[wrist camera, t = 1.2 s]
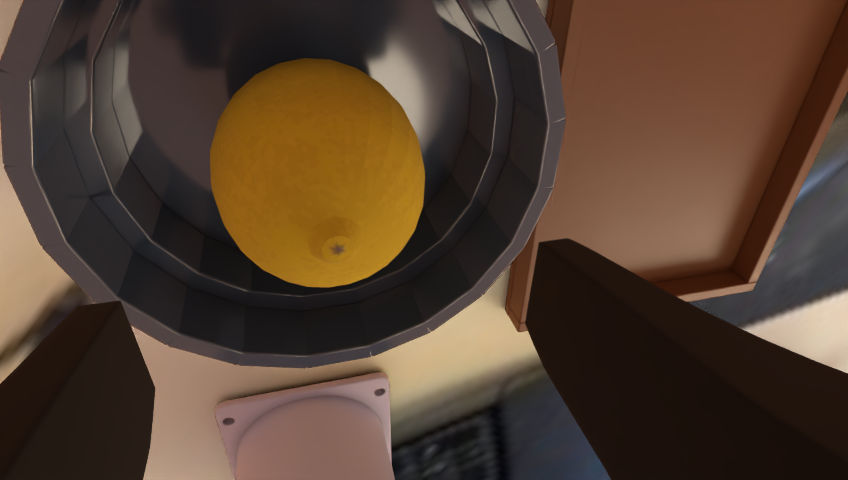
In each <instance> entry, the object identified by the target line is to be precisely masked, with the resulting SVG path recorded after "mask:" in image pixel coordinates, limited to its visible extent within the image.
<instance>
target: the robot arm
mask: <svg viewBox="0 0 848 480" xmlns="http://www.w3.org/2000/svg"><path fill="white" fill-rule="evenodd" d="M525 325H526V327H527V329H528V332H529V334H530V337H531V339H532V341H533V344H534V346H535V349H536V351H537V353H538V355H539V357H540V360H541V362H542V364H543V366H544V368H545V370H546V372H547V373H548V375H549V377H550V379H551V380H552V382H553V384H554V385H555V387H556V389H557V390H558V392H559V394H560V395H561V397H562V399H563V400H564V402H565V404H566V405H567V407H568V409H569V410H570V412H571V414H572V415H573V417H574V418H575V420H576V422H577V423H578V425H579V427H580V428H581V430H582V432H583V433H584V435H585V437H586V438H587V440H588V441H589V443H590V445H591V446H592V448H593V450H594V451H595V453H596V455H597V456H598V458H599V459H600V461H601V463H602V464H603V466H604V468H605V469H606V471H607V473H608V475H609V476H610V478H611V480H848V373H845V372H842V371H840V370H837V369H834V368H832V367H829V366H827V365H824V364H821V363H819V362H816V361H814V360H811V359H809V358H807V357H804V356H802V355H799V354H797V353H795V352H792V351H790V350H788V349H785V348H783V347H780V346H778V345H776V344H773V343H771V342H769V341H766V340H764V339H762V338H759V337H757V336H755V335H753V334H751V333H748V332H746V331H744V330H742V329H740V328H738V327H736V326H734V325H732V324H730V323H728V322H726V321H724V320H722V319H719V318H717V317H715V316H713V315H711V314H709V313H707V312H705V311H703V310H701V309H699V308H697V307H695V306H694V305H692V304H690V303H688V302H686V301H684V300H682V299H680V298H678V297H676V296H675V295H673V294H671V293H669V292H667V291H665V290H663V289H662V288H660V287H658V286H656V285H654V284H652V283H651V282H649V281H647V280H645V279H643V278H642V277H640V276H638V275H636V274H635V273H633V272H631V271H629V270H627V269H626V268H624V267H622V266H620V265H618V264H617V263H615V262H613V261H611V260H610V259H608V258H606V257H604V256H602V255H600V254H599V253H597V252H595V251H593V250H591V249H589V248H588V247H586V246H584V245H582V244H580V243H578V242H576V241H573V240H571V239H569V238H565V239H557V240H550V241H543V242H539V243H538V249H537V255H536V261H535V267H534V273H533V279H532V284H531V290H530V296H529V302H528V308H527V314H526V319H525ZM379 388H381V389H379ZM377 389H378V390H377ZM154 397H155V386H154V384H153V381H152V379H151V376H150V374H149V371H148V369H147V366H146V364H145V361H144V359H143V356H142V353H141V351H140V348H139V346H138V343H137V341H136V338H135V336H134V333H133V331H132V328H131V326H130V323H129V321H128V318H127V315H126V313H125V310H124V308H123V305H122V303H121V300H119V301H112V302H105V303H98V304H91V305H83V306H78V307H76V308H75V309H74V310H73V311H72V312H71V313H70V314H69V315H68V316H67V317H66V318H65V319H64V320H63V321H62V322H61V323H60V324H59V325H58V326H57V327H56V328H55V329H54V330H53V331H52V332H51V333H50V334H49V335H48V336H47V337H46V338H45V339H44V340H43V341H42V342H41V343H40V344H39V345H38V346H37V347H36V348H35V349H34V350H33V352H32V353H31V354H30V355H29V356H28V357H27V358H26V359H25V360H24V361H23V362H22V363H21V364H20V365H19V366H18V367H17V368H16V369H15V370H14V371H13V372H12V373H11V374H10V375H9V376H8V377H7V378H6V379H5V380H4V381H3V382H2V383H1V384H0V480H143V477H144V473H145V468H146V464H147V459H148V454H149V449H150V442H151V433H152V423H153V411H154ZM215 417H216V420H217V424H218V427H219V430H220V433H221V436H222V440H223V443H224V446H225V449H226V452H227V455H228V459H229V462H230V465H231V468H232V471H233V475H234V478H235V480H395V478H394V474H393V470H392V465H391V427H390V386H389V379H388V376H387V375H386V374H385V373H382V372H378V373H372V374H367V375H362V376H356V377H351V378H346V379H340V380H335V381H329V382H324V383H319V384H313V385H308V386H303V387H297V388H292V389H287V390H281V391H276V392H270V393H265V394H260V395H254V396H249V397H244V398H238V399H233V400H227V401H223V402H221V403H219V404H218V405H217V406H216V408H215Z"/></svg>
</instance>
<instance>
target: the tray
mask: <svg viewBox="0 0 848 480" xmlns="http://www.w3.org/2000/svg"><path fill="white" fill-rule="evenodd" d="M546 23H547V25H548V27H549V29H550V31H551V33H552V35H553V37H554V39H555V43H556V45H557V52H558V60H559V68H560V75H561V83H562V90H563V98H564V106H565V113H566V118H565V120H566V123H565V129H564V134H563V140H562V146H561V151H560V157H559V162H558V168H557V174H556V179H555V185H554V187H553V191H552V193H551V195H550V197H549V199H548V201H547V203H546V205H545V207H544V209H543V211H542V214H541V216H540V218H539V220H538V222H537V224H536V226H535V228H534V230H533V232H532V234H531V236H530V238H529V240H528V242H527V244H526V246H525V247H524V249H523V250H522V251H521V252H520V253H519V255H518V256H517V257H516V258H515V259H514V260H513V261H512V266H511V274H510V281H509V288H508V295H507V302H506V309H505V311H506V313H507V314H508V315H509V317H510V319H511V321H512V322H513V324H514V326H515V328H516V329H517V331H518V332H523V331H528V329H527V327H526V325H525V319H526V314H527V308H528V302H529V296H530V290H531V284H532V279H533V273H534V267H535V261H536V255H537V249H538V243H539V242H543V241H550V240H557V239H565V238H569V239H571V240H573V241H576V242H578V243H580V244H582V245H584V246H586V247H588V248H589V249H591V250H593V251H595V252H597V253H599V254H600V255H602V256H604V257H606V258H608V259H610V260H611V261H613V262H615V263H617V264H618V265H620V266H622V267H624V268H626V269H627V270H629V271H631V272H633V273H635V274H636V275H638V276H640V277H642V278H643V279H645V280H647V281H649V282H651V283H652V284H654V285H656V286H658V287H660V288H662V289H663V290H665V291H667V292H669V293H671V294H673V295H675V296H676V297H678V298H680V299H682V300H684V301H686V302H690V301H696V300H701V299H707V298H713V297H718V296H724V295H729V294H735V293H740V292H746V291H751V290H753V288H754V286H755V284H756V281H757V280H758V278H759V276H760V274H761V272H762V269H763V267H764V265H765V263H766V261H767V259H768V257H769V255H770V253H771V251H772V248H773V246H774V244H775V242H776V240H777V238H778V236H779V234H780V232H781V229H782V227H783V225H784V223H785V221H786V219H787V217H788V215H789V213H790V211H791V208H792V206H793V204H794V202H795V200H796V198H797V196H798V194H799V192H800V189H801V187H802V185H803V183H804V181H805V179H806V177H807V175H808V173H809V171H810V168H811V166H812V164H813V162H814V160H815V158H816V156H817V154H818V152H819V149H820V147H821V145H822V143H823V141H824V139H825V137H826V135H827V133H828V131H829V128H830V126H831V124H832V122H833V120H834V118H835V116H836V114H837V112H838V110H839V107H840V105H841V103H842V101H843V99H844V97H845V95H846V93H847V91H848V0H549V4H548V11H547V18H546Z"/></svg>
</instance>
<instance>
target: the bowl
mask: <svg viewBox="0 0 848 480" xmlns="http://www.w3.org/2000/svg"><path fill="white" fill-rule="evenodd" d="M302 58H313V59H330V60H334V61H337V62H340V63H343V64H346V65H349V66H352V67H355V68H357V69H359V70H360V71H362V72H363V73H365V74H367V75H368V76H370V77H371V78H373V79H375V80H376V81H378V82H379V83H380V84H382V85H383V86H384V87H385V89H386V90H387V91H388V92H389V93H390V94H391V95H392V96H393V97H394V98H395V99H396V100H397V101H398V102H399V104H400V105H401V106H402V107H403V109H404V111H405V113H406V115H407V117H408V119H409V121H410V123H411V124H412V126H413V128H414V130H415V132H416V134H417V137H418V140H419V144H420V149H421V154H422V159H423V164H424V170H425V184H424V200H423V207H422V210H421V214H420V216H419V219H418V222H417V225H416V228H415V231H414V233H413V234H412V236H411V237H410V239H409V240H408V242H407V243H406V245H405V246H404V248H403V249H402V251H401V252H400V253H399V254H398V255H397V256H396V257H395V258H394V259H393V260H392V261H391V262H390V263H389V264H388V265H387V266H385V267H384V268H382V269H381V270H379V271H377V272H376V273H374V274H373V275H371V276H369V277H367V278H364V279H362V280H359V281H356V282H354V283H351V284H347V285H341V286H335V287H306V286H302V285H298V284H294V283H290V282H287V281H285V280H283V279H280V278H278V277H276V276H274V275H272V274H270V273H268V272H266V271H264V270H263V269H261V268H260V267H259V266H258V265H257V264H255V263H254V262H253V261H252V260H251V259H249V258H248V257H247V256H246V255H245V254H244V253H243V252H242V251H241V250H240V248H239V247H238V245H237V244H236V242H235V241H234V240H233V238H232V237H231V235H230V234H229V232H228V231H227V229H226V227H225V226H224V223H223V221H222V219H221V216H220V213H219V210H218V207H217V204H216V201H215V198H214V195H213V191H212V187H211V171H210V150H211V145H212V142H213V138H214V134H215V131H216V127H217V124H218V120H219V118H220V116H221V115H222V113H223V111H224V110H225V108H226V107H227V105H228V103H229V102H230V100H231V99H232V97H233V95H234V94H235V93H236V92H237V91H238V90H239V89H240V88H241V87H242V86H243V85H245V84H246V83H247V82H248V81H249V80H250V79H251V78H252V77H253V76H254V75H256V74H258V73H260V72H262V71H264V70H266V69H268V68H270V67H272V66H274V65H276V64H278V63H282V62H287V61H292V60H297V59H302ZM565 118H566V113H565V106H564V98H563V90H562V83H561V75H560V68H559V60H558V52H557V45H556V43H555V39H554V37H553V35H552V33H551V31H550V29H549V27H548V25H547V23H546V21H545V19H544V17H543V15H542V13H541V11H540V9H539V7H538V5H537V3H536V1H535V0H23V1H22V4H21V6H20V9H19V12H18V14H17V17H16V20H15V22H14V25H13V27H12V30H11V33H10V35H9V38H8V41H7V43H6V46H5V48H4V51H3V54H2V56H1V59H0V124H1V141H2V159H3V164H4V169H5V171H6V173H7V175H8V177H9V179H10V182H11V184H12V186H13V188H14V190H15V192H16V194H17V197H18V199H19V201H20V203H21V205H22V207H23V209H24V211H25V214H26V216H27V218H28V220H29V222H30V224H31V226H32V228H33V231H34V233H35V235H36V237H37V239H38V241H39V243H40V245H41V246H42V248H43V249H44V250H45V251H46V252H47V253H48V254H49V256H50V257H51V258H52V259H53V260H54V261H55V262H56V263H57V264H58V265H59V266H60V267H61V268H62V269H63V270H64V271H65V272H66V273H67V274H68V275H69V276H70V277H71V278H72V279H73V280H74V281H75V282H76V284H77V285H78V286H79V287H80V288H81V289H82V290H83V291H84V292H85V293H86V294H87V295H88V296H89V297H90V298H91V299H92V300H93V301H94V302H95V303H96V304H98V303H105V302H112V301H119V300H121V303H122V305H123V308H124V310H125V313H126V315H127V318H128V321H129V323H130V325H132V326H133V327H135V328H137V329H139V330H140V331H142V332H144V333H146V334H147V335H149V336H151V337H153V338H154V339H156V340H158V341H160V342H161V343H163V344H165V345H168V346H169V347H173V348H177V349H180V350H184V351H187V352H191V353H195V354H198V355H202V356H205V357H209V358H213V359H216V360H220V361H223V362H227V363H231V364H234V365H240V366H261V367H285V368H312V367H318V366H323V365H329V364H334V363H340V362H346V361H351V360H357V359H362V358H368V357H371V356H375V355H377V354H380V353H382V352H385V351H387V350H389V349H392V348H394V347H397V346H399V345H401V344H404V343H406V342H409V341H411V340H413V339H416V338H418V337H421V336H423V335H425V334H428V333H430V331H433V330H435V329H436V328H438V327H439V326H441V325H442V324H443V323H445V322H446V321H448V320H449V319H450V318H452V317H453V316H455V315H456V314H457V313H459V312H460V311H462V310H463V309H464V308H466V307H467V306H469V305H470V304H471V303H473V302H474V301H476V300H477V299H478V298H480V297H481V296H482V295H483V294H485V292H486V291H487V290H488V289H489V288H490V287H491V286H492V284H493V283H494V282H495V281H496V280H497V279H498V278H499V276H500V275H501V274H502V273H503V272H504V271H505V269H506V268H507V267H508V266H509V265H510V264H511V263H512V261H513V260H514V259H515V258H516V257H517V256H518V255H519V253H520V252H521V251H522V250H523V249H524V247H525V246H526V244H527V242H528V240H529V238H530V236H531V234H532V232H533V230H534V228H535V226H536V224H537V222H538V220H539V218H540V216H541V214H542V211H543V209H544V207H545V205H546V203H547V201H548V199H549V197H550V195H551V193H552V191H553V187H554V185H555V179H556V174H557V168H558V162H559V157H560V151H561V146H562V140H563V134H564V129H565V123H566V120H565Z"/></svg>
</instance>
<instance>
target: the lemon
mask: <svg viewBox="0 0 848 480" xmlns="http://www.w3.org/2000/svg"><path fill="white" fill-rule="evenodd" d="M210 171H211V187H212V191H213V195H214V198H215V201H216V204H217V207H218V210H219V213H220V216H221V219H222V221H223V223H224V226H225V227H226V229H227V231H228V232H229V234H230V235H231V237H232V238H233V240H234V241H235V242H236V244H237V245H238V247H239V248H240V250H241V251H242V252H243V253H244V254H245V255H246V256H247V257H248V258H249V259H251V260H252V261H253V262H254V263H255V264H257V265H258V266H259V267H260V268H261V269H263V270H264V271H266V272H268V273H270V274H272V275H274V276H276V277H278V278H280V279H283V280H285V281H287V282H290V283H294V284H298V285H302V286H306V287H335V286H341V285H347V284H351V283H354V282H356V281H359V280H362V279H364V278H367V277H369V276H371V275H373V274H374V273H376V272H377V271H379V270H381V269H382V268H384V267H385V266H387V265H388V264H389V263H390V262H391V261H392V260H393V259H394V258H395V257H396V256H397V255H398V254H399V253H400V252H401V251H402V249H403V248H404V246H405V245H406V243H407V242H408V240H409V239H410V237H411V236H412V234H413V233H414V231H415V228H416V225H417V222H418V219H419V216H420V214H421V210H422V207H423V200H424V184H425V170H424V164H423V159H422V154H421V149H420V144H419V140H418V137H417V134H416V132H415V130H414V128H413V126H412V124H411V123H410V121H409V119H408V117H407V115H406V113H405V111H404V109H403V107H402V106H401V105H400V104H399V102H398V101H397V100H396V99H395V98H394V97H393V96H392V95H391V94H390V93H389V92H388V91H387V90H386V89H385V87H384V86H383V85H382V84H380V83H379V82H378V81H376V80H375V79H373V78H371V77H370V76H368V75H367V74H365V73H363V72H362V71H360V70H359V69H357V68H355V67H352V66H349V65H346V64H343V63H340V62H337V61H334V60H330V59H313V58H302V59H297V60H292V61H287V62H282V63H278V64H276V65H274V66H272V67H270V68H268V69H266V70H264V71H262V72H260V73H258V74H256V75H254V76H253V77H252V78H251V79H250V80H249V81H248V82H247V83H246V84H245V85H243V86H242V87H241V88H240V89H239V90H238V91H237V92H236V93H235V94H234V95H233V97H232V99H231V100H230V102H229V103H228V105H227V107H226V108H225V110H224V111H223V113H222V115H221V116H220V118H219V120H218V124H217V127H216V131H215V134H214V138H213V142H212V145H211V150H210Z"/></svg>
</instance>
